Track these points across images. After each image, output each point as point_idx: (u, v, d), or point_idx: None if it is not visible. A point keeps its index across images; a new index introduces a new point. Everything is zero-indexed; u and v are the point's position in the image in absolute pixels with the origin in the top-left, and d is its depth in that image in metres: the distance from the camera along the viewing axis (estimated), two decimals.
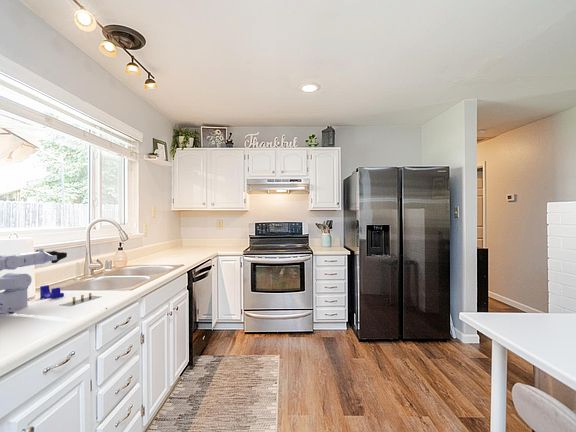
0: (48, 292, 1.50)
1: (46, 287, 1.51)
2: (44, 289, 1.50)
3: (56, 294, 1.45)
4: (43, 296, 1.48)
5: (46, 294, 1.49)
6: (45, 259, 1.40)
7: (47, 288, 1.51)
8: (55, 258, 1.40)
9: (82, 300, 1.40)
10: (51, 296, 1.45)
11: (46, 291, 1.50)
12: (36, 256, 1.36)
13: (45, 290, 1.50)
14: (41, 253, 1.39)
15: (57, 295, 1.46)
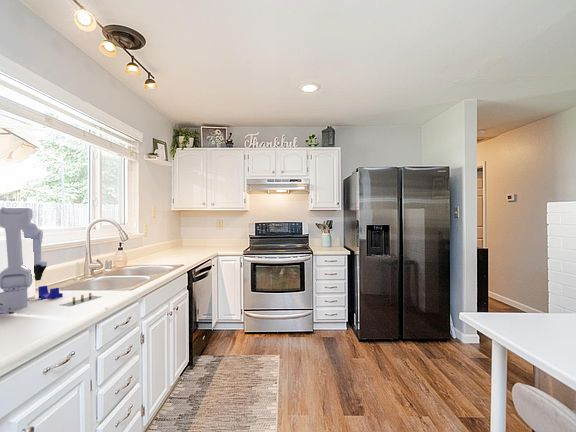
0: (46, 292, 1.50)
1: (44, 287, 1.50)
2: (42, 289, 1.49)
3: (54, 295, 1.45)
4: (41, 296, 1.48)
5: (44, 294, 1.48)
6: None
7: (45, 288, 1.50)
8: (44, 264, 1.50)
9: (82, 300, 1.40)
10: (50, 296, 1.44)
11: (44, 291, 1.50)
12: (40, 254, 1.53)
13: (44, 291, 1.49)
14: None
15: (56, 296, 1.45)
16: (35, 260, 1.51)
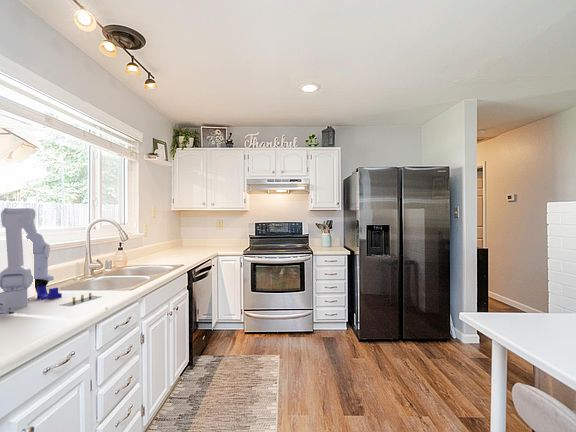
0: (45, 292, 1.49)
1: (43, 287, 1.49)
2: (41, 289, 1.48)
3: (53, 295, 1.44)
4: (40, 296, 1.47)
5: (43, 294, 1.47)
6: (42, 276, 1.50)
7: (44, 288, 1.49)
8: (50, 279, 1.49)
9: (82, 300, 1.40)
10: (49, 296, 1.44)
11: (43, 291, 1.49)
12: (46, 268, 1.52)
13: (42, 291, 1.48)
14: (47, 273, 1.53)
15: (55, 296, 1.45)
16: (42, 275, 1.49)
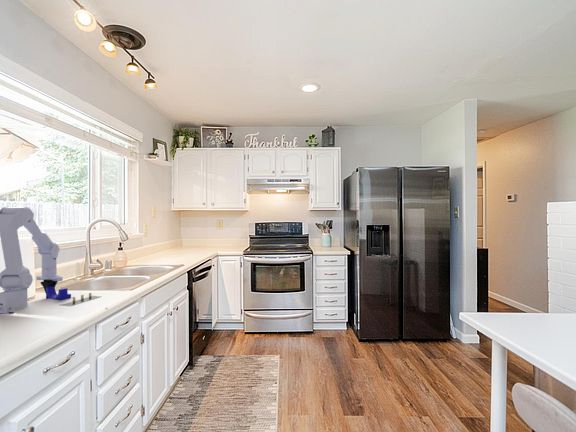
0: (54, 293, 1.47)
1: (52, 288, 1.47)
2: (50, 290, 1.46)
3: (63, 295, 1.42)
4: (49, 297, 1.45)
5: (52, 295, 1.46)
6: (51, 277, 1.48)
7: (53, 289, 1.48)
8: (59, 279, 1.47)
9: (82, 300, 1.40)
10: (58, 297, 1.42)
11: (52, 292, 1.47)
12: (55, 268, 1.50)
13: (51, 292, 1.47)
14: (56, 273, 1.51)
15: (65, 296, 1.43)
16: (51, 275, 1.48)
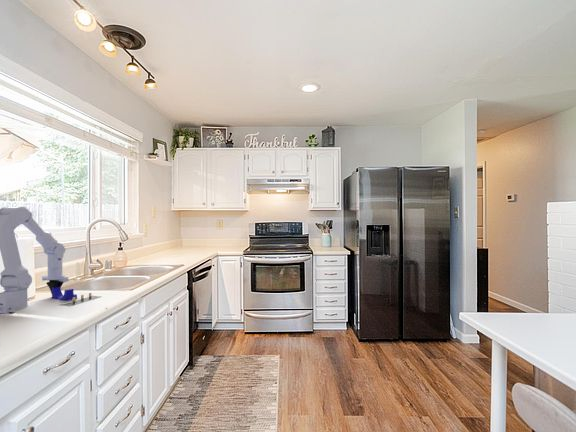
0: (60, 294, 1.46)
1: (58, 288, 1.46)
2: (56, 291, 1.45)
3: (69, 296, 1.41)
4: (55, 298, 1.44)
5: (58, 296, 1.45)
6: (57, 277, 1.47)
7: (59, 290, 1.47)
8: (65, 280, 1.46)
9: (82, 300, 1.40)
10: (64, 298, 1.41)
11: (58, 292, 1.46)
12: (61, 269, 1.49)
13: (57, 292, 1.46)
14: None
15: (71, 297, 1.42)
16: (56, 275, 1.47)
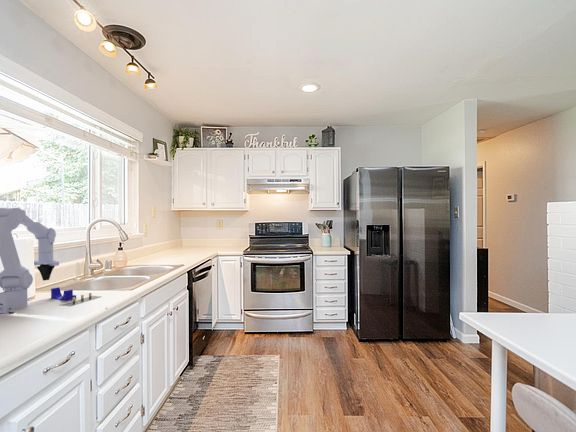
0: (59, 294, 1.46)
1: (57, 289, 1.46)
2: (55, 291, 1.45)
3: (68, 297, 1.41)
4: None
5: (57, 296, 1.44)
6: (48, 261, 1.48)
7: (58, 290, 1.46)
8: (56, 264, 1.47)
9: (82, 300, 1.40)
10: (63, 298, 1.40)
11: (57, 293, 1.45)
12: (52, 253, 1.50)
13: (56, 293, 1.45)
14: None
15: (70, 298, 1.41)
16: (47, 260, 1.48)
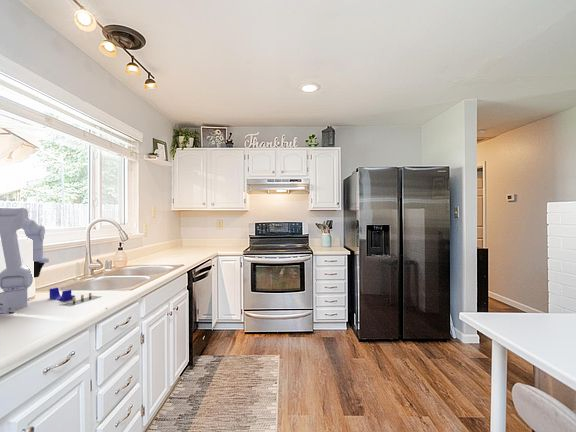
0: (58, 295, 1.45)
1: (55, 289, 1.45)
2: (54, 292, 1.44)
3: (67, 297, 1.40)
4: None
5: (56, 297, 1.44)
6: (37, 258, 1.48)
7: (57, 290, 1.46)
8: (45, 261, 1.47)
9: (82, 300, 1.40)
10: (62, 299, 1.40)
11: (56, 293, 1.45)
12: (41, 250, 1.50)
13: (55, 293, 1.45)
14: (42, 255, 1.51)
15: (69, 298, 1.41)
16: (37, 257, 1.48)
